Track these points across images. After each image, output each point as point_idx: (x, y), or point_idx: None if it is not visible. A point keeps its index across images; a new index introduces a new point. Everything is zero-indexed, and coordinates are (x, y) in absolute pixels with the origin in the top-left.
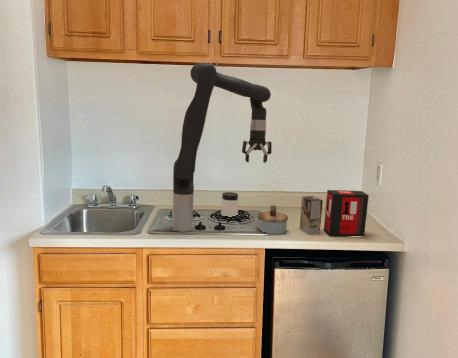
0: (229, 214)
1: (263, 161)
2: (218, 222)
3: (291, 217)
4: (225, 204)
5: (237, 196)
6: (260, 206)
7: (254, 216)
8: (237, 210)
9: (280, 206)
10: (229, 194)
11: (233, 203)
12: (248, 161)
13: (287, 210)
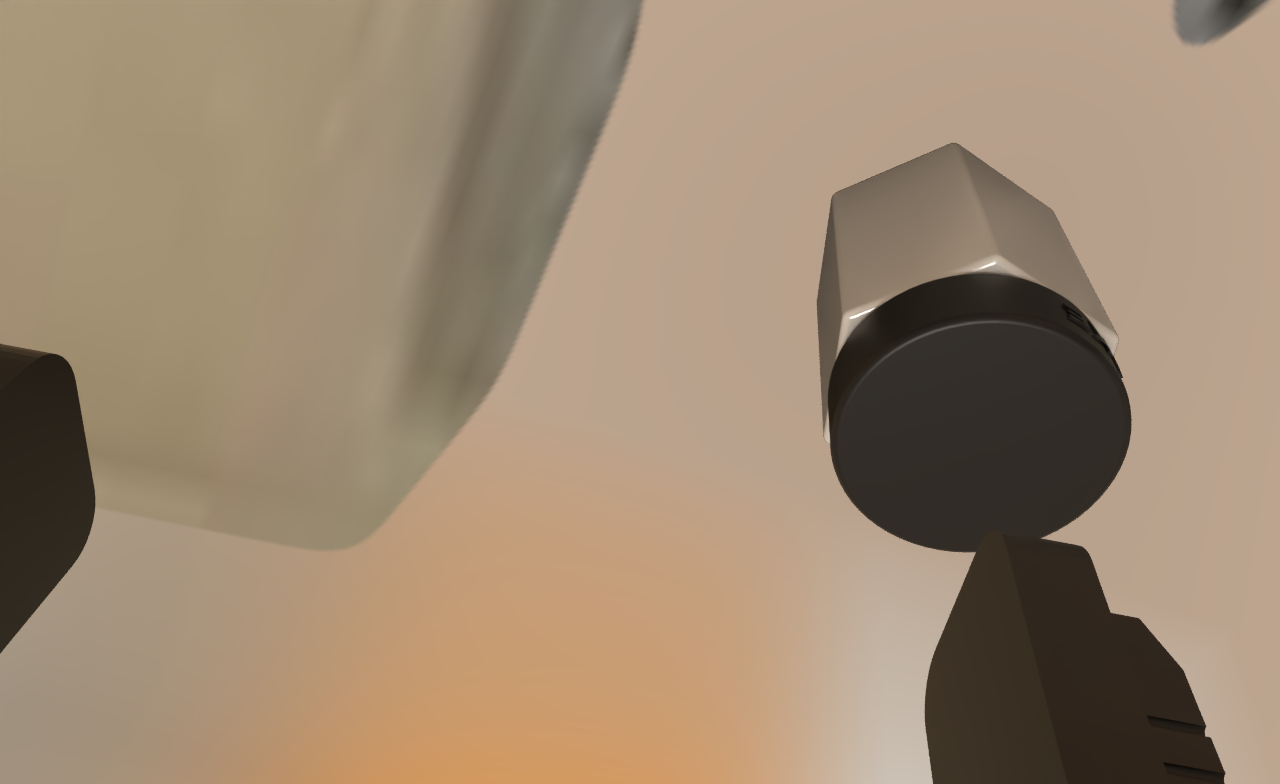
0: (992, 182)
1: (68, 521)
2: (1258, 3)
3: (50, 11)
4: (1080, 287)
5: (877, 337)
6: (348, 538)
7: (576, 174)
8: (847, 228)
9: (100, 488)
10: (1020, 405)
11: (965, 243)
12: (1032, 551)
13: (44, 326)
